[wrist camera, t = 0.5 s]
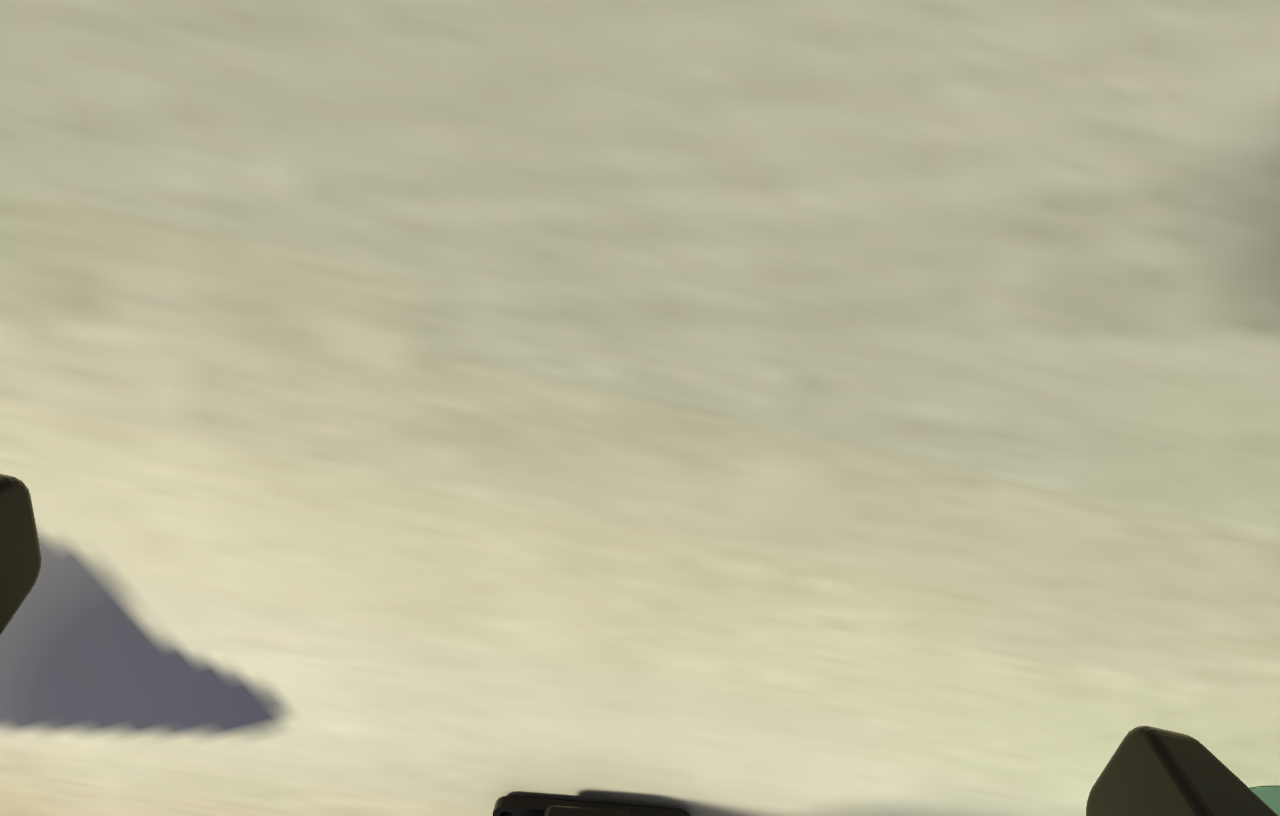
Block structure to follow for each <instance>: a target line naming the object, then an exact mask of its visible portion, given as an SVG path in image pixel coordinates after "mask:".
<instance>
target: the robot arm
mask: <svg viewBox="0 0 1280 816" xmlns="http://www.w3.org/2000/svg"><path fill="white" fill-rule="evenodd" d="M40 568H41V550H40V545H39V539H38V534H37V529H36V523H35V518H34V513H33V507H32V502H31V496H30V493H29V490H28V488H27V487H26V486H25V484H24V483H23V482H22V481H21V480H19V479H17V478H15V477H12V476H7V475H3V474H0V635H1V634H2V633H3V631H4V630H5V628H6V627H7V625H8V624H9V622H10V621H11V619H12V618H13V616H14V615H15V613H16V612H17V611H18V609H19V608H20V606H21V605H22V603H23V602H24V600H25V599H26V597H27V596H28V594H29V593H30V591H31V590H32V588H33V586H34V585H35V582H36V580H37V578H38V575H39V571H40ZM493 816H690V815H689V814H688V813H687V812H685V811H683V810H678V809H667V808H655V807H642V806H629V805H616V804H603V803H590V802H577V801H565V800H552V799H539V798H526V797H513V796H503V797H501V798H499V799H498V800H497V801H496V804H495V807H494V811H493ZM1086 816H1278V815H1277V814H1276V813H1275V812H1274V811H1273V810H1272V809H1271V808H1270V807H1269V806H1268V805H1266V804H1265V803H1264V802H1263V801H1262V800H1261V799H1260V798H1259V797H1258V796H1257V795H1256V794H1255V793H1254V792H1253V791H1251V790H1250V789H1249V788H1248V787H1247V786H1246V785H1245V784H1244V783H1243V782H1242V781H1241V780H1240V779H1239V778H1238V777H1236V776H1235V775H1234V774H1233V773H1232V772H1231V771H1230V770H1229V769H1228V768H1227V767H1226V766H1225V765H1224V764H1223V763H1221V762H1220V761H1219V760H1218V759H1217V758H1216V757H1215V756H1214V755H1213V754H1212V753H1211V752H1210V751H1209V750H1207V749H1206V748H1205V747H1204V746H1203V745H1202V744H1201V743H1200V742H1199V741H1197V740H1196V739H1194V738H1192V737H1190V736H1188V735H1185V734H1181V733H1177V732H1172V731H1168V730H1163V729H1159V728H1154V727H1149V726H1139V727H1136V728H1135V729H1133V730H1131V731H1130V732H1129V733H1128V734H1127V735H1126V736H1125V738H1124V739H1123V741H1122V743H1121V744H1120V746H1119V747H1118V749H1117V750H1116V752H1115V753H1114V755H1113V756H1112V758H1111V759H1110V761H1109V763H1108V764H1107V766H1106V767H1105V769H1104V770H1103V772H1102V773H1101V775H1100V776H1099V778H1098V779H1097V781H1096V783H1095V784H1094V786H1093V787H1092V789H1091V792H1090V794H1089V797H1088V801H1087V807H1086Z"/></svg>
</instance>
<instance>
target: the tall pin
mask: <svg viewBox="0 0 1280 816" xmlns="http://www.w3.org/2000/svg"><path fill="white" fill-rule="evenodd" d="M1249 789H1250V790H1251V791H1253V792H1254V793H1255V794H1256V795H1257V796H1258V797H1259V798H1260V799H1261V800H1262V801H1263V802H1264V803H1265V804H1266V805H1268V806H1269V807H1270V808H1271V809H1272V810H1273V811H1274V812H1275V813H1276V814H1277V815H1278V816H1280V786H1264V787H1255V788H1249Z"/></svg>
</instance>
